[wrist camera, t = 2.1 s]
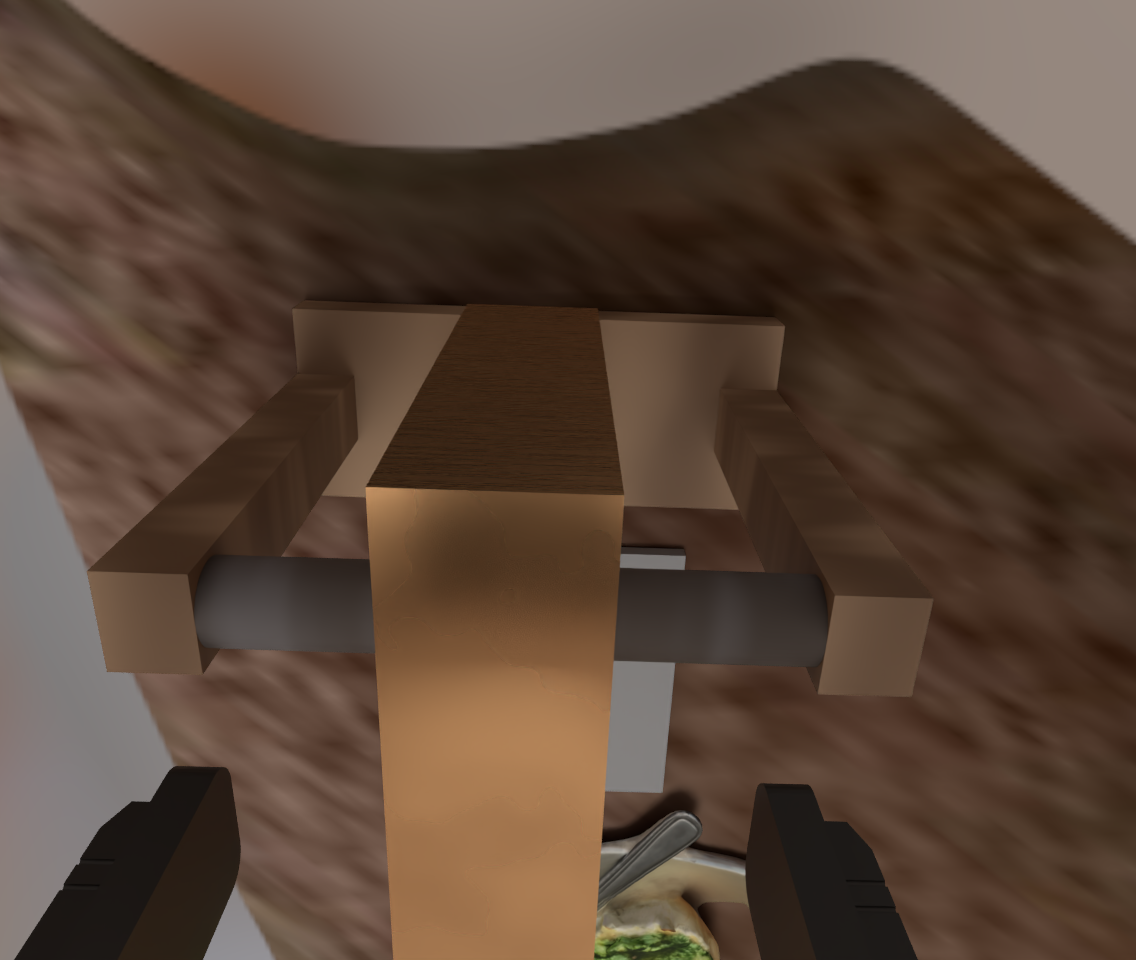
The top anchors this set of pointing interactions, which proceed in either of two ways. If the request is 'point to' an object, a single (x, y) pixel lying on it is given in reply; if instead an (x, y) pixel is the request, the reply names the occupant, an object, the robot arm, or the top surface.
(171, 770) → the robot arm
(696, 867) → the salad plate
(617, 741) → the mat
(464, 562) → the link
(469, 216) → the top surface
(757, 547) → the stand
